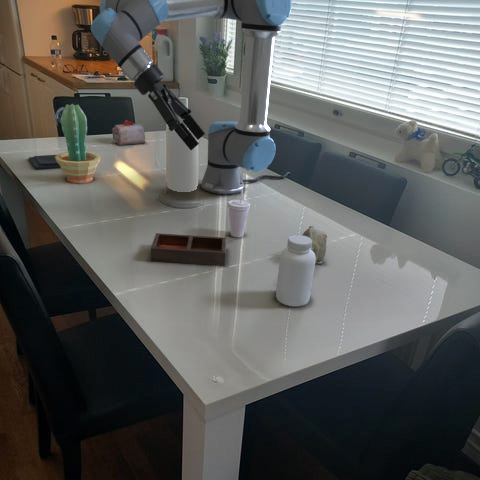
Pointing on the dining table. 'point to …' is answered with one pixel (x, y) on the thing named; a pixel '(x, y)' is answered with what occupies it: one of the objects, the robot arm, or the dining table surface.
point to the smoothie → (238, 215)
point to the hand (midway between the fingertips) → (198, 141)
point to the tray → (188, 249)
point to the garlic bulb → (317, 242)
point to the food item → (129, 133)
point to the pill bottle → (296, 271)
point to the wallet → (44, 162)
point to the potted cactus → (75, 145)
